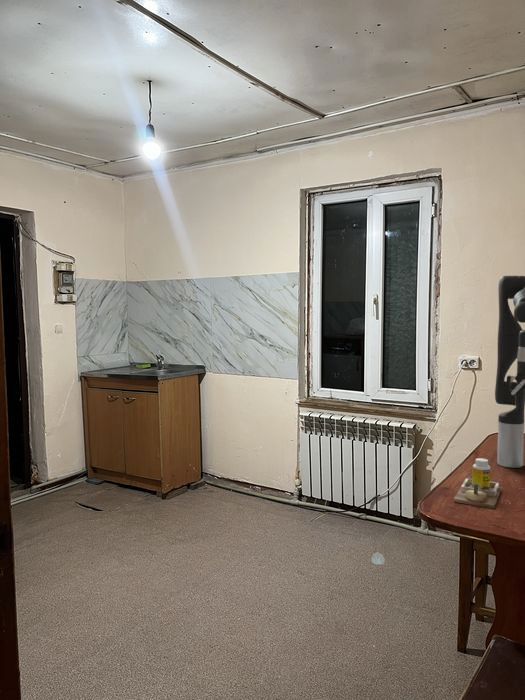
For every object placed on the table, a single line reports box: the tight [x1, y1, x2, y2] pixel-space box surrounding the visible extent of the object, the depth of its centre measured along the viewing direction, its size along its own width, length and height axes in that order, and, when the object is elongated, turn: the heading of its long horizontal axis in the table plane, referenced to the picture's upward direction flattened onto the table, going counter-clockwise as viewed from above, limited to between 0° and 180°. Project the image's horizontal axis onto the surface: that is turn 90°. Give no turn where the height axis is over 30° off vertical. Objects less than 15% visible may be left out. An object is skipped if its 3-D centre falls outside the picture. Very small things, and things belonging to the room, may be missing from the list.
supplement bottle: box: [471, 457, 491, 490], centre depth 177 cm, size 6×6×10 cm
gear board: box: [453, 477, 502, 509], centre depth 174 cm, size 19×12×6 cm, turn 149°
